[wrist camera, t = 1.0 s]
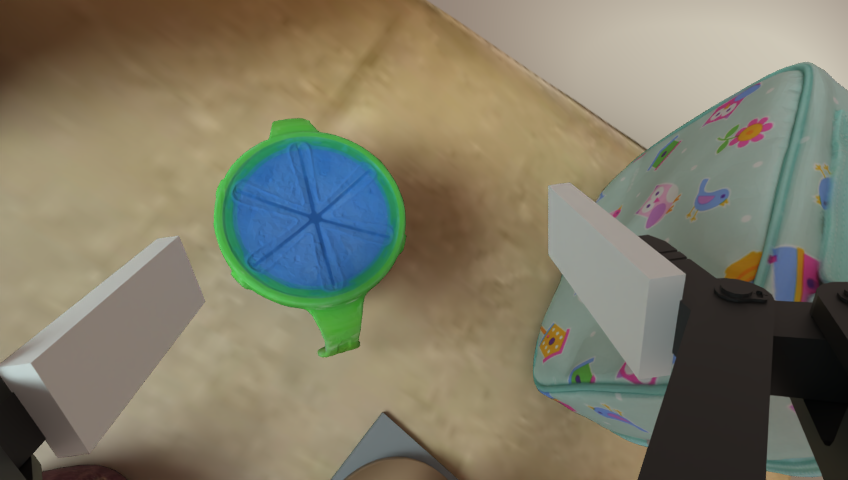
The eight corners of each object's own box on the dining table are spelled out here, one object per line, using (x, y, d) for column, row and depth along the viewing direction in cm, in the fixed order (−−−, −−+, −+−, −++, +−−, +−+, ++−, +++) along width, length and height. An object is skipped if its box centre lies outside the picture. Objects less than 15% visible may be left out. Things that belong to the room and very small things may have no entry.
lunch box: (598, 460, 35) (981, 580, 16) (497, 396, 34) (772, 437, 15) (679, 215, 46) (973, 101, 26) (604, 160, 45) (849, -1, 25)
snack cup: (228, 167, 33) (203, 89, 24) (361, 161, 37) (385, 91, 27) (245, 372, 30) (223, 376, 20) (390, 345, 33) (429, 337, 24)
